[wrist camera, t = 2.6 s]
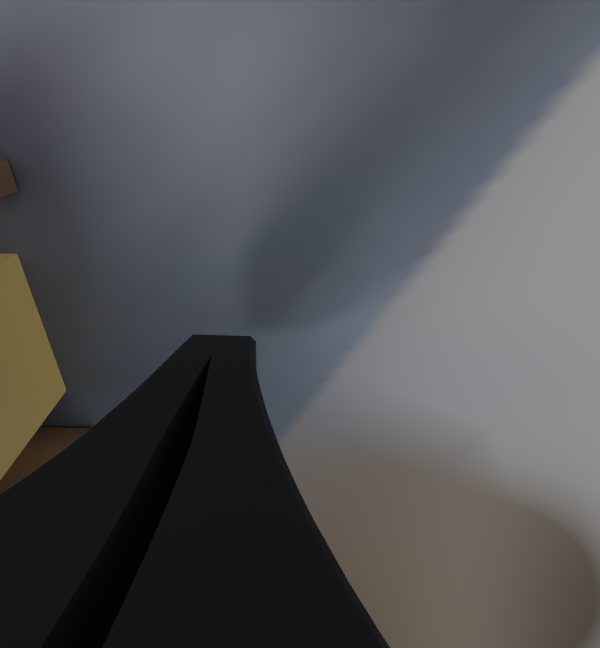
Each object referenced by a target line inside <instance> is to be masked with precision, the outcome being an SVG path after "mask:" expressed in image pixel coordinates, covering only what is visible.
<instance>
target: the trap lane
mask: <svg viewBox="0 0 600 648" xmlns="http://www.w3.org/2000/svg"><path fill="white" fill-rule="evenodd" d="M17 191H18V189H17V186H16V183H15V180H14V177H13V174H12V171H11V168H10V164H9V161H8V159H0V198H2V197H4V196H7V195H9V194H12V193H14V192H17ZM90 429H91V428H62V427H39V429H38V430H37V431H36V433H35V434H34V435H33V437H32V438H31V439H30V441H29V442H28V443H27V445H26V446H25V448H24V449H23V450H22V452H21V453H20V454H19V456H18V457H17V458H16V460H15V461H14V462H13V464H12V465H11V467H10V468H9V469H8V471H7V472H6V473H5V475H4V476H3V477H2V479H1V480H0V494H1V493H3V492H5V491H6V490H8V489H9V488H11V487H12V486H14V485H15V484H17V483H18V482H20V481H21V480H23V479H24V478H25V477H27V476H28V475H30V474H31V473H32V472H34V471H35V470H37V469H38V468H39V467H41V466H42V465H44V464H45V463H46V462H48V461H49V460H51V459H52V458H53V457H55V456H56V455H57V454H59V453H60V452H62V451H63V450H64V449H65V448H67V447H68V446H69V445H71V444H72V443H73V442H75V441H76V440H77V439H78V438H80V437H81V436H82V435H84V434H85V433H86V432H87V431H88V430H90Z"/></svg>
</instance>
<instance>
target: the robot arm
mask: <svg viewBox="0 0 600 648" xmlns="http://www.w3.org/2000/svg"><path fill="white" fill-rule="evenodd" d="M0 648H390V647H389V646H388V644H387V643H386V641H385V639H384V638H383V636H382V635H381V633H380V632H379V630H378V629H377V627H376V625H375V624H374V622H373V621H372V619H371V617H370V616H369V614H368V612H367V611H366V609H365V608H364V606H363V604H362V603H361V601H360V600H359V598H358V597H357V595H356V593H355V592H354V590H353V588H352V587H351V585H350V584H349V582H348V580H347V578H346V577H345V575H344V573H343V571H342V569H341V568H340V566H339V564H338V562H337V561H336V559H335V557H334V555H333V554H332V552H331V550H330V548H329V546H328V545H327V543H326V541H325V539H324V538H323V536H322V534H321V532H320V530H319V529H318V527H317V525H316V523H315V522H314V520H313V518H312V516H311V514H310V512H309V510H308V508H307V506H306V504H305V502H304V500H303V498H302V496H301V494H300V492H299V490H298V488H297V486H296V484H295V482H294V480H293V477H292V476H291V473H290V471H289V468H288V466H287V464H286V461H285V459H284V457H283V454H282V452H281V449H280V447H279V444H278V442H277V439H276V437H275V434H274V431H273V428H272V426H271V423H270V420H269V417H268V414H267V411H266V408H265V404H264V401H263V397H262V393H261V390H260V386H259V382H258V377H257V371H256V341H255V340H254V339H253V338H252V337H251V336H221V335H192V336H191V337H190V338H189V339H188V340H187V341H186V342H185V343H184V344H183V345H182V346H181V347H180V348H179V349H178V350H176V351H175V352H174V353H173V354H172V355H171V356H170V357H169V358H168V359H167V360H166V361H165V362H164V363H163V364H162V365H161V366H160V367H159V368H158V369H157V370H156V371H155V372H154V373H153V374H152V375H151V376H150V377H149V378H148V379H147V380H145V381H144V382H143V383H142V384H141V385H140V386H139V387H138V388H137V389H136V390H135V391H134V392H133V393H131V394H130V395H129V396H128V397H127V398H126V399H125V400H124V401H123V402H122V403H120V404H119V405H118V406H117V407H116V408H115V409H113V410H112V411H111V412H110V413H109V414H107V415H106V416H105V417H104V418H103V419H101V420H100V421H99V422H98V423H97V424H96V425H94V426H93V427H92V428H91V429H90V430H88V431H87V432H86V433H85V434H84V435H82V436H81V437H80V438H78V439H77V440H76V441H75V442H73V443H72V444H71V445H69V446H68V447H67V448H65V449H64V450H63V451H62V452H60V453H59V454H57V455H56V456H55V457H53V458H52V459H51V460H49V461H48V462H46V463H45V464H44V465H42V466H41V467H39V468H38V469H37V470H35V471H34V472H32V473H31V474H30V475H28V476H27V477H25V478H24V479H23V480H21V481H20V482H18V483H17V484H15V485H14V486H12V487H11V488H9V489H8V490H6V491H5V492H3V493H1V494H0Z"/></svg>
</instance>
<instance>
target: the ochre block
mask: <svg viewBox="0 0 600 648" xmlns="http://www.w3.org/2000/svg"><path fill="white" fill-rule="evenodd" d="M66 391H67V390H66V387H65V384H64V382H63V379H62V376H61V373H60V371H59V368H58V365H57V362H56V360H55V357H54V354H53V351H52V349H51V346H50V343H49V340H48V337H47V335H46V332H45V329H44V326H43V324H42V321H41V318H40V315H39V313H38V310H37V307H36V304H35V301H34V299H33V296H32V293H31V290H30V288H29V285H28V282H27V279H26V277H25V274H24V271H23V268H22V266H21V263H20V260H19V257H18V254H9V253H0V480H1V479H2V477H3V476H4V475H5V473H6V472H7V471H8V469H9V468H10V467H11V465H12V464H13V462H14V461H15V460H16V458H17V457H18V456H19V454H20V453H21V452H22V450H23V449H24V448H25V446H26V445H27V443H28V442H29V441H30V439H31V438H32V437H33V435H34V434H35V433H36V431H37V430H38V429H39V427H40V426H41V425H42V423H43V422H44V420H45V419H46V418H47V416H48V415H49V414H50V412H51V411H52V410H53V408H54V407H55V406H56V404H57V403H58V402H59V400H60V399H61V397H62V396H63V395H64V393H65V392H66Z"/></svg>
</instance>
